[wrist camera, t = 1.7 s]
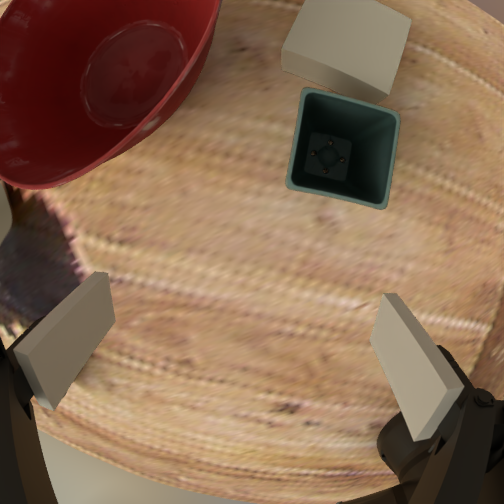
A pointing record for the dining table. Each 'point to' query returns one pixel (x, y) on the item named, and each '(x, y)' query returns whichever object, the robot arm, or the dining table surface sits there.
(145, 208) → the dining table surface
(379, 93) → the stone block
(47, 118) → the mixing bowl
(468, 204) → the dining table surface
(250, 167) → the dining table surface
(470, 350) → the dining table surface
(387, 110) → the flower pot
